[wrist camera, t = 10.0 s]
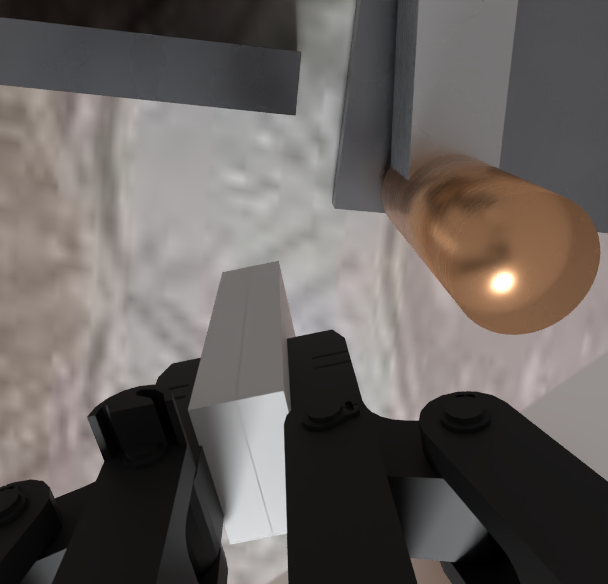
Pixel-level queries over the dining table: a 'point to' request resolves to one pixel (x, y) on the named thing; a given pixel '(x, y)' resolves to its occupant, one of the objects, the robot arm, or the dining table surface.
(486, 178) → the lever
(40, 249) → the dining table surface
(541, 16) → the cracker base
